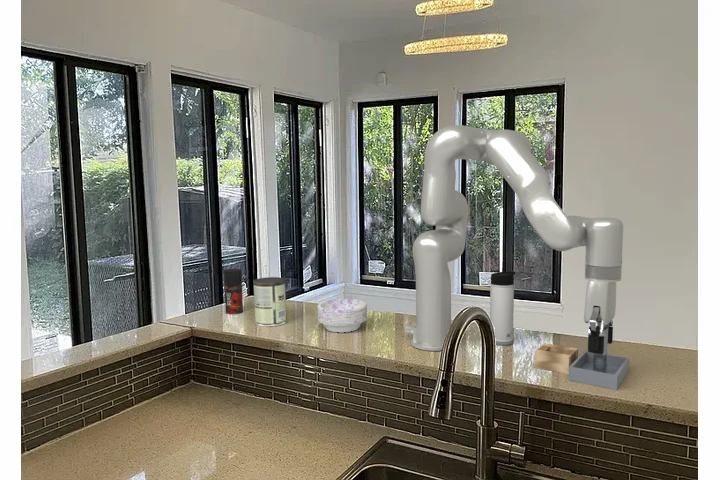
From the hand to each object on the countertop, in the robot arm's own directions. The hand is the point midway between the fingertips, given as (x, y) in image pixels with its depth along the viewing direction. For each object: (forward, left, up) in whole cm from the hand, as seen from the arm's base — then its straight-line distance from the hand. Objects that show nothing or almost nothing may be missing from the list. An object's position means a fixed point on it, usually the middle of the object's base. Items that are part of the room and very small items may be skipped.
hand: (600, 347), depth 124 cm
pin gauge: (0, 0, -6) cm, 6 cm away
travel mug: (-28, +12, -7) cm, 31 cm away
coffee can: (-98, -8, -7) cm, 99 cm away
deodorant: (-119, -5, -7) cm, 119 cm away
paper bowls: (-74, -1, -7) cm, 74 cm away
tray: (0, 0, -7) cm, 7 cm away
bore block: (-10, +1, -7) cm, 12 cm away
